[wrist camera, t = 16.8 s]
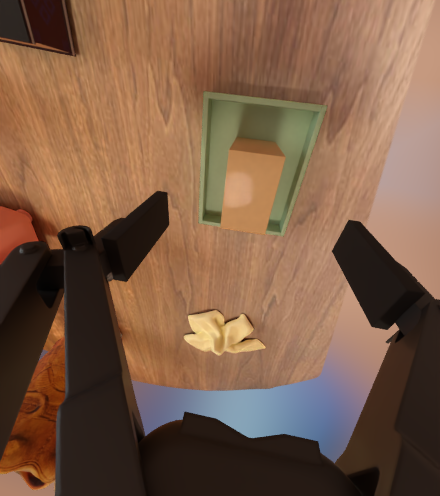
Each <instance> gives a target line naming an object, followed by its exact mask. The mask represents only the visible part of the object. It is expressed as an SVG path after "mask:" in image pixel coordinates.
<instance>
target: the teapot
mask: <svg viewBox="0 0 440 496" xmlns="http://www.w3.org/2000/svg"><path fill="white" fill-rule="evenodd" d="M31 222H32V217H31V215H30V214H29V213H28V212H26V211H25V210H22V209H19V210H17V211H14V210H11V209H8V208H5V207H2V206H0V264H1V263H2V262H3V261H4V260H5V258H6V257H7V256H8V255H9V253H10V252H11V251H12V250H13V249H14V248H15V247H17V246H19V245H21V244H23V243H26V242H33V241H38V238H37V236H36V233H35V231H34V228H33V226H32V223H31Z"/></svg>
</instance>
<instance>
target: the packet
mask: <svg viewBox="0 0 440 496" xmlns="http://www.w3.org/2000/svg"><path fill="white" fill-rule="evenodd" d="M285 159H286V157H285V155H284V154H283V152H282V151H281V149H280V148H279V146H278V145H277V144H276V142H273V141H265V140H257V139H249V138H242V137H236V139H235V141H234V142H233V144H232V146H231V147H230V149H229V154H228V163H227V172H226V180H225V189H224V198H223V207H222V216H221V225H220V228H223V229H229V230H236V231H242V232H248V233H255V234H261V235H265V233H266V229H267V225H268V222H269V218H270V214H271V211H272V207H273V203H274V200H275V196H276V192H277V188H278V185H279V181H280V177H281V174H282V170H283V166H284V162H285Z"/></svg>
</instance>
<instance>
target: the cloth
mask: <svg viewBox="0 0 440 496" xmlns="http://www.w3.org/2000/svg"><path fill="white" fill-rule="evenodd" d="M188 319H189V323H190V326H191V328H192V330H193V331H194V332H195V333H196V334H188V335H185V336H184V339H185V340H186V341H187V342H188V343H189V344H191V345H192V346H194V347H196V348H198V349H200V350H202V351H210V350H212V351H213V352H214V353H215V354H217V355H221V354H222V353H223V352H224V351H228V352H230V353H238V352H244V351H253V350H259V349H264V348H266V347H265V346H264V345H263V343H262V342H260V341H259V340H258V339H253V340H245V341H243V342H241V340H242V339H243V338H245V337H246V336H248V335H249V334H251V333H252V331H254V328H253V327H252V325H251V324H250V322H249V321H248V319H247V318H246V316H245V315H244V314H241V315H240V317H239V318H238V319H235V320H232V321H230V322H228V323H227V324H225V323H224V317H223V315H222V314H221V313H220V312H218V311H217V310H214V311H210V312H206V313H201V314H195V315H188Z"/></svg>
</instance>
